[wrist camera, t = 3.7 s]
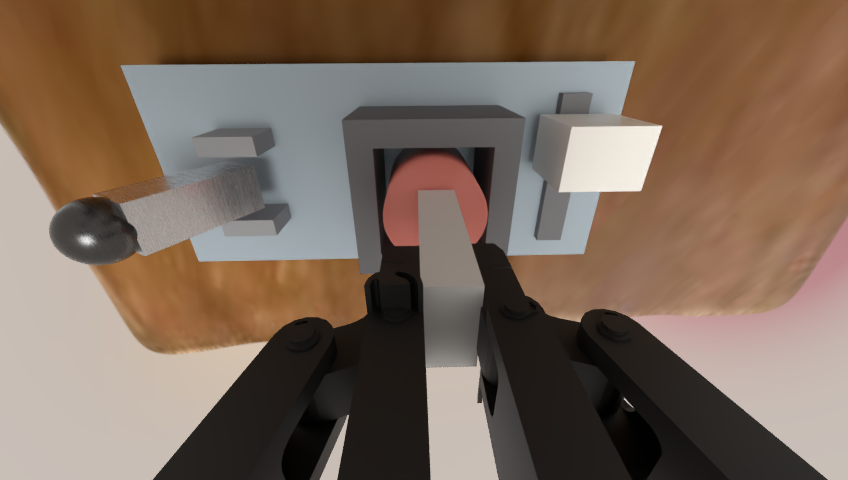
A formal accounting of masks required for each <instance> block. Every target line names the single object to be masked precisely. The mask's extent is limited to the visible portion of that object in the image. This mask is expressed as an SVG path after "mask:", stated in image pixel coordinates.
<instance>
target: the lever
mask: <svg viewBox="0 0 848 480" xmlns="http://www.w3.org/2000/svg"><path fill="white" fill-rule="evenodd" d="M93 196H94V197H86V198H81V199H78V200H75V201H72V202H70V203H68V204H66V205H65V206H63V207H62V208H61V209H59V210H58V211H57V212H56V213H55V215H54V216H53V218H52V220H51V223H50V227H49V233H50V238H51V240H52V242H53V244H54V246H55V247H56V248H57V249H58V250H59V251H60V252H61V253H62V254H64V255H65V256H66V257H68V258H70V259H72V260H75V261H77V262H80V263H84V264H90V265H107V264H113V263H117V262H120V261H123V260H125V259H127V258H129V257H130V256H132V255H133V254H135V253H136V252H137V253H139V254H141V255H144V256H147V255H150V254H152V253H155V252H157V251H159V250H162V249H164V248H167V247H169V246H172V245H174V244H177V243H179V242H182V241H184V240H187V239H189V238H192V237H194V236H197V235H199V234H202V233H204V232H206V231H209V230H211V229H214V228H216V227H219V226H221V225H224V224H226V223H229V222H231V221H234V220H236V219H239V218H241V217H244V216H246V215H248V214H251V213H253V212H256V211H258V210H261V209H263V208H265V205H264V201H263V197H262V194H261V190H260V186H259V182H258V178H257V174H256V171H255V167H254V166H251V165H245V164H240V163H235V162H230V161H224V162H220V163H216V164H212V165H208V166H204V167H200V168H196V169H192V170H188V171H184V172H179V173H175V174H171V175H167V176H163V177H159V178H155V179H151V180H147V181H143V182H139V183H135V184H131V185H127V186H123V187H119V188H115V189H111V190H107V191H103V192H99V193H95V194H93Z"/></svg>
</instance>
